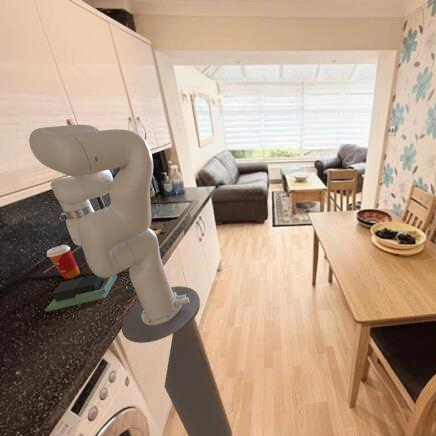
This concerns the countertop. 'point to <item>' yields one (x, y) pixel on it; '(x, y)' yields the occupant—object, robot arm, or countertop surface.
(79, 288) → the black pad
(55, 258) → the paper cup
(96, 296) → the base board
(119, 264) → the robot arm
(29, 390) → the countertop surface
